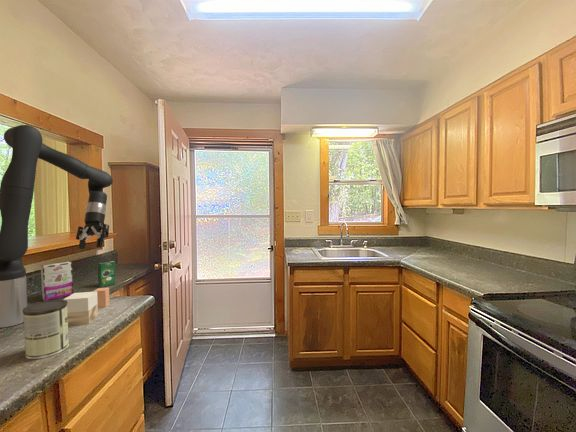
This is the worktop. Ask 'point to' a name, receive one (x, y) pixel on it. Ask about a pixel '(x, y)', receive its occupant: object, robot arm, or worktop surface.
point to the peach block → (102, 297)
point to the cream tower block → (81, 301)
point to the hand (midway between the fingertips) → (90, 248)
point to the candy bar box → (56, 280)
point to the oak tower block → (82, 316)
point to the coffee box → (106, 274)
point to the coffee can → (45, 329)
